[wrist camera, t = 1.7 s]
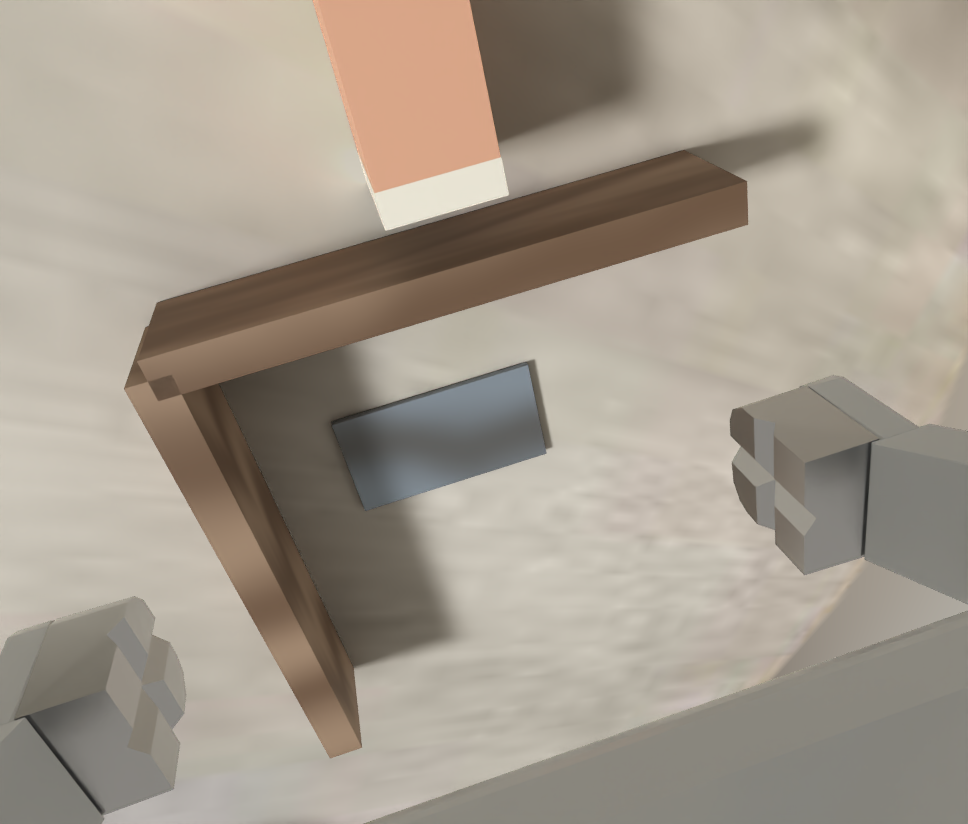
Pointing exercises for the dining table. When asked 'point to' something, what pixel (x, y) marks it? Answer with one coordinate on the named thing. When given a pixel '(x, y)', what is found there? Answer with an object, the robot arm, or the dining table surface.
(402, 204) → the block
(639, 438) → the dining table surface
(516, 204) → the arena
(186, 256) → the dining table surface
